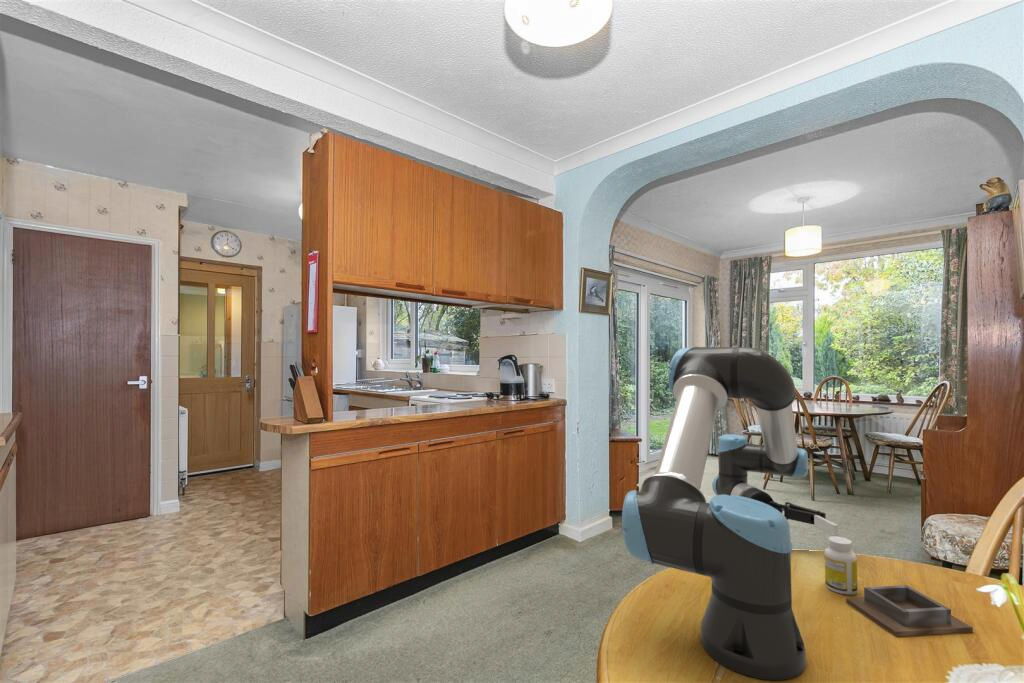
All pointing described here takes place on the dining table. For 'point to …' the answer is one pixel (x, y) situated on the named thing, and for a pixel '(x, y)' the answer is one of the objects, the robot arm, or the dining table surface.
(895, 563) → the dining table surface
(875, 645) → the dining table surface
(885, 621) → the collar holder
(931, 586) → the dining table surface
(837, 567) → the supplement bottle
